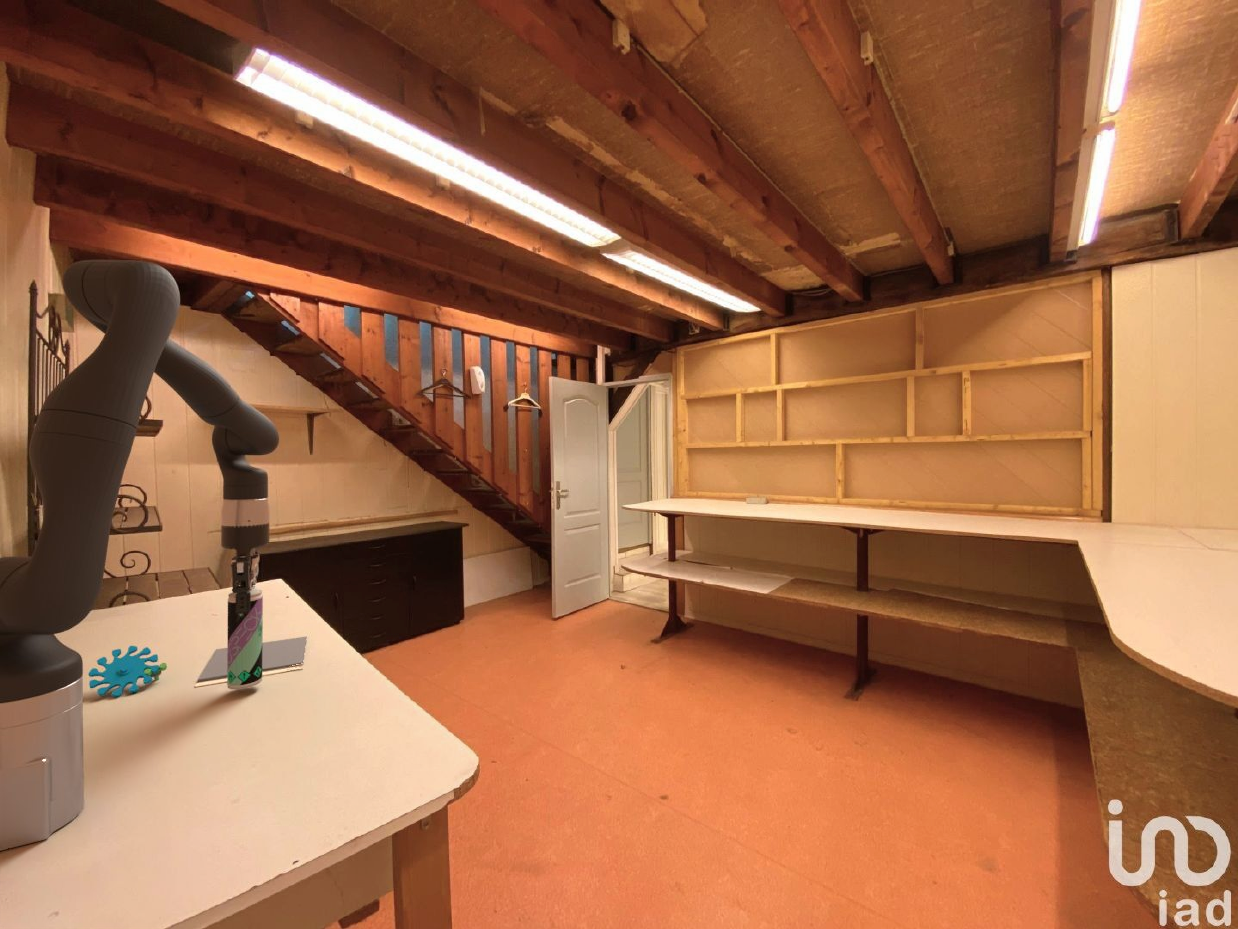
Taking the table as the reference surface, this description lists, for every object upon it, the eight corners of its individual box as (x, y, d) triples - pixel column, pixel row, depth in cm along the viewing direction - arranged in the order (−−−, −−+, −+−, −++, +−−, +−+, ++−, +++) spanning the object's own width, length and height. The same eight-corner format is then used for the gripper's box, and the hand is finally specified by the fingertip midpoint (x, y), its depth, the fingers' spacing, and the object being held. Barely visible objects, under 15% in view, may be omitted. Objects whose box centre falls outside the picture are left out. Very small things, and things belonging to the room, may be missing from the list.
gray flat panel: (302, 669, 108) (302, 667, 108) (194, 687, 100) (194, 685, 100) (306, 638, 127) (306, 636, 126) (215, 651, 118) (215, 649, 118)
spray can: (221, 685, 97) (221, 581, 97) (252, 675, 102) (253, 576, 102) (236, 692, 95) (237, 585, 94) (268, 680, 99) (268, 579, 99)
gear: (77, 697, 92) (98, 645, 98) (82, 710, 95) (102, 659, 102) (157, 691, 98) (172, 642, 104) (159, 704, 101) (174, 656, 107)
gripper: (265, 525, 94) (264, 616, 94) (273, 517, 106) (272, 597, 106) (213, 527, 90) (213, 622, 90) (228, 519, 102) (227, 602, 103)
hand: (245, 608), depth 98 cm, fingers closed on spray can, 5 cm apart
